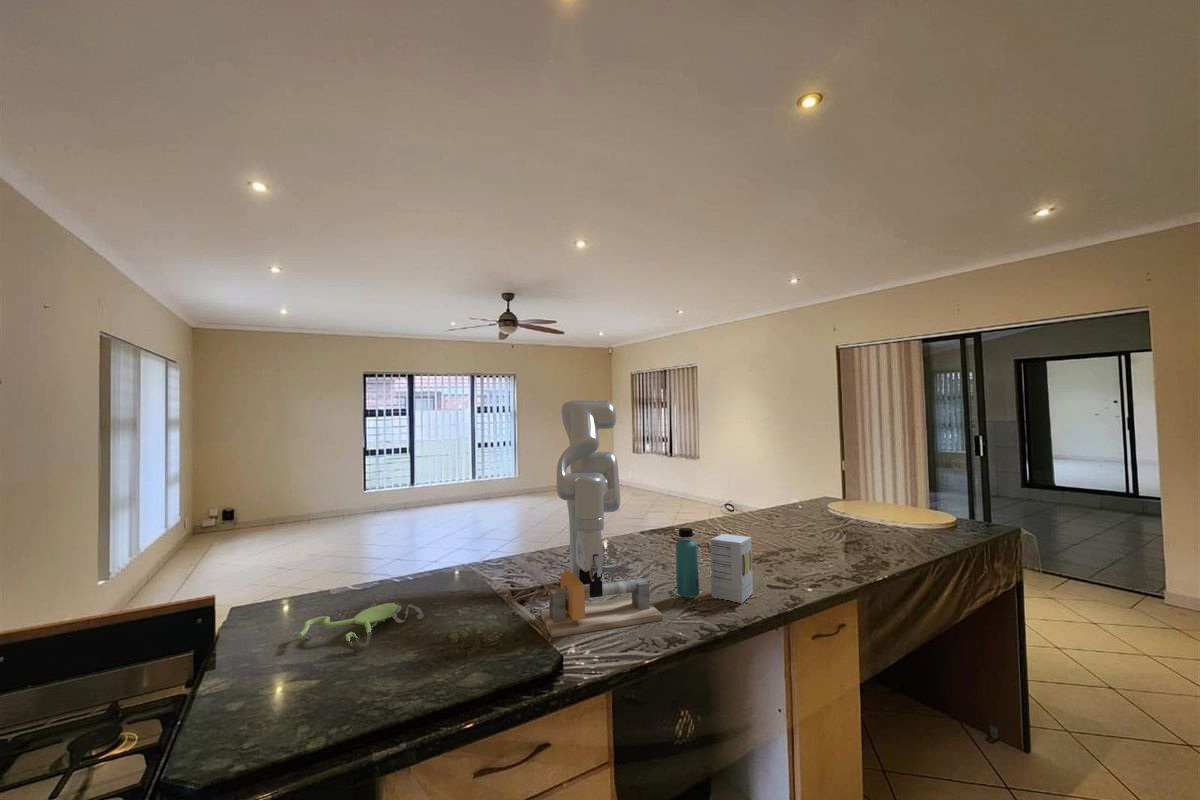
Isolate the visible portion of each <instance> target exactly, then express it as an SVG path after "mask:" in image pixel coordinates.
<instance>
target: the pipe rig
mask: <svg viewBox="0 0 1200 800" xmlns="http://www.w3.org/2000/svg"><path fill="white" fill-rule="evenodd" d="M548 591H549V592H548V594H549V595H548V596H549V597H548V598H549V603H548V604H549V608H542V609H540V613H539V614H540V617H541V620H542V621H543V623H544V626H545V627H546V629H547V631H548V633H549V635H550V637H551V639H552V638H558V637H559V638H560V637H566V636H572V635H579V634H584V633H589V632H596V631H597V632H598V631H602V630H604V631H605V630H609V629H615V628H616V629H617V628H621V627H622V628H623V627H627V626H633V625H634V626H635V625H640V624H647V623H652V622H658V621H659V622H660V621H663V613H661V611H659V610H658V609H657V608H656V607H655V606H653V604H651V603H650V602H651V601H650V600H651V599H650V583H649V582H648V581H647V579H646V578H643V577H637V578H631V580H630V579H629V580H623V581H615V582H608V583H605V582H604V583H603V584H602V596H600V597H608V596H613V595H623V594H629V593H631V596H630V597H629V596H627V597H621V598H616V599H608V600H607V599H606V600H600V601H593V602H592V601H591V602H585V619H581V620H574V621H573V620H572V618H571V617H570V615H569V614H568V612H567V611H566V609H565V601H568V589H567V588H566V589H561V587H559V588H552V589H551V588H550V589H549V590H548ZM600 597H599V598H600ZM586 599H591V597H590V586H585V600H586Z"/></svg>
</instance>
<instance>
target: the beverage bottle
mask: <svg viewBox="0 0 1200 800" xmlns="http://www.w3.org/2000/svg"><path fill="white" fill-rule="evenodd" d="M693 530H694V529H693V528H690V527H680V528H679V529H678V537H680V538H681V539H678V540H677V541H676V542H675V558H676V560H675V565H676V566H675V569H676V571H675V572H676V573H675V574H676V581H675V582H676V592H677V594H678V595H679V596H681V597H684V598H694V597H697V596H699V595H700V578H699V572H700V571H699V560H698V559H699V558H698V544H697V542H696V541H695V540H694V539H690V538H692V537H694V533H693Z"/></svg>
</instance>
